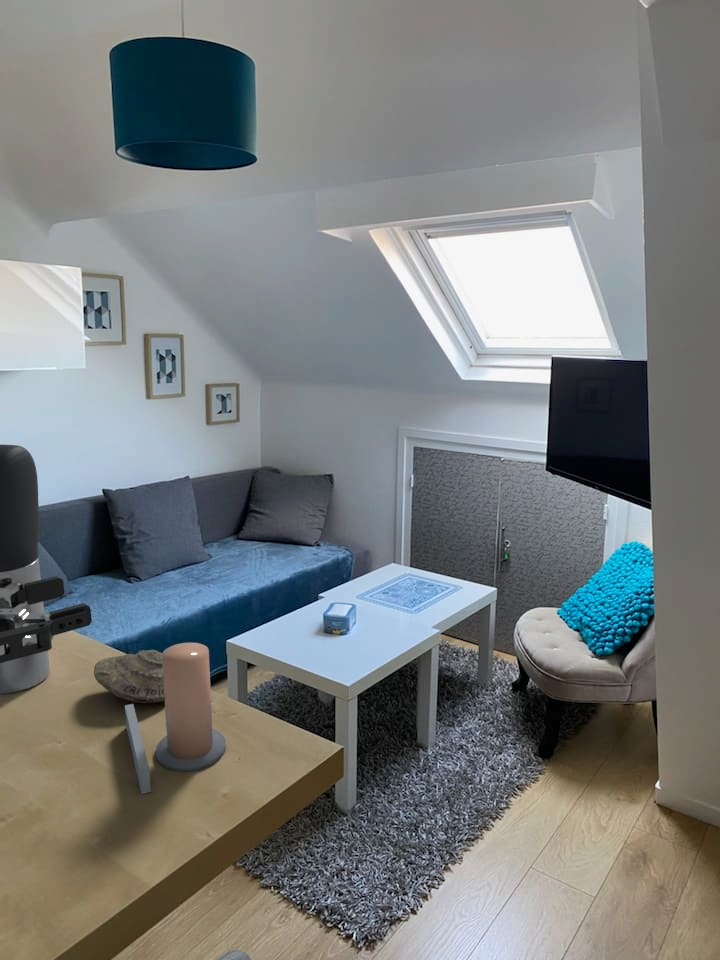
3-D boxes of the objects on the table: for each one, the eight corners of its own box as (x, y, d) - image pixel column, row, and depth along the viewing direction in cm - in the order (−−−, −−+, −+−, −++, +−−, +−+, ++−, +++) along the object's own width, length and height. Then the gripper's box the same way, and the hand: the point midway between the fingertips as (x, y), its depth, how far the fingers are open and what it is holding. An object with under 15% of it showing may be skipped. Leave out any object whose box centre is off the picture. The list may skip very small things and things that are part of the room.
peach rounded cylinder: (164, 739, 88) (158, 647, 85) (207, 730, 90) (203, 639, 87) (172, 764, 83) (166, 667, 80) (217, 753, 85) (213, 658, 83)
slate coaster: (151, 739, 89) (151, 735, 89) (217, 725, 92) (217, 721, 92) (162, 777, 82) (161, 773, 82) (233, 760, 85) (232, 756, 85)
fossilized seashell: (145, 711, 92) (133, 656, 93) (82, 722, 96) (71, 669, 97) (196, 687, 102) (184, 637, 102) (137, 698, 106) (126, 650, 107)
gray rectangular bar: (126, 727, 92) (124, 705, 91) (134, 725, 92) (133, 703, 91) (141, 794, 79) (139, 769, 78) (150, 792, 79) (149, 767, 79)
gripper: (-102, 637, 60) (96, 587, 70) (-124, 582, 71) (50, 545, 80) (-87, 718, 62) (104, 658, 72) (-111, 652, 73) (58, 608, 82)
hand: (75, 598), depth 76 cm, fingers open, 8 cm apart
